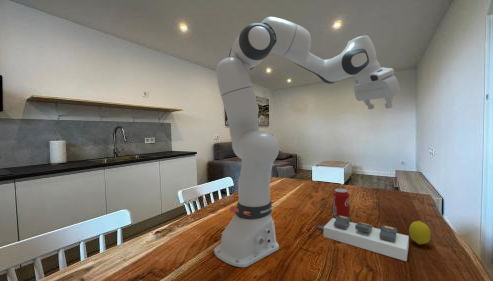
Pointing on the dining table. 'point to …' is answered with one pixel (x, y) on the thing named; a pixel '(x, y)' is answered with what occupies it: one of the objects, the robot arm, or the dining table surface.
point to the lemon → (419, 232)
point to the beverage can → (341, 203)
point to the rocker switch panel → (368, 240)
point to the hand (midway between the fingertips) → (379, 108)
